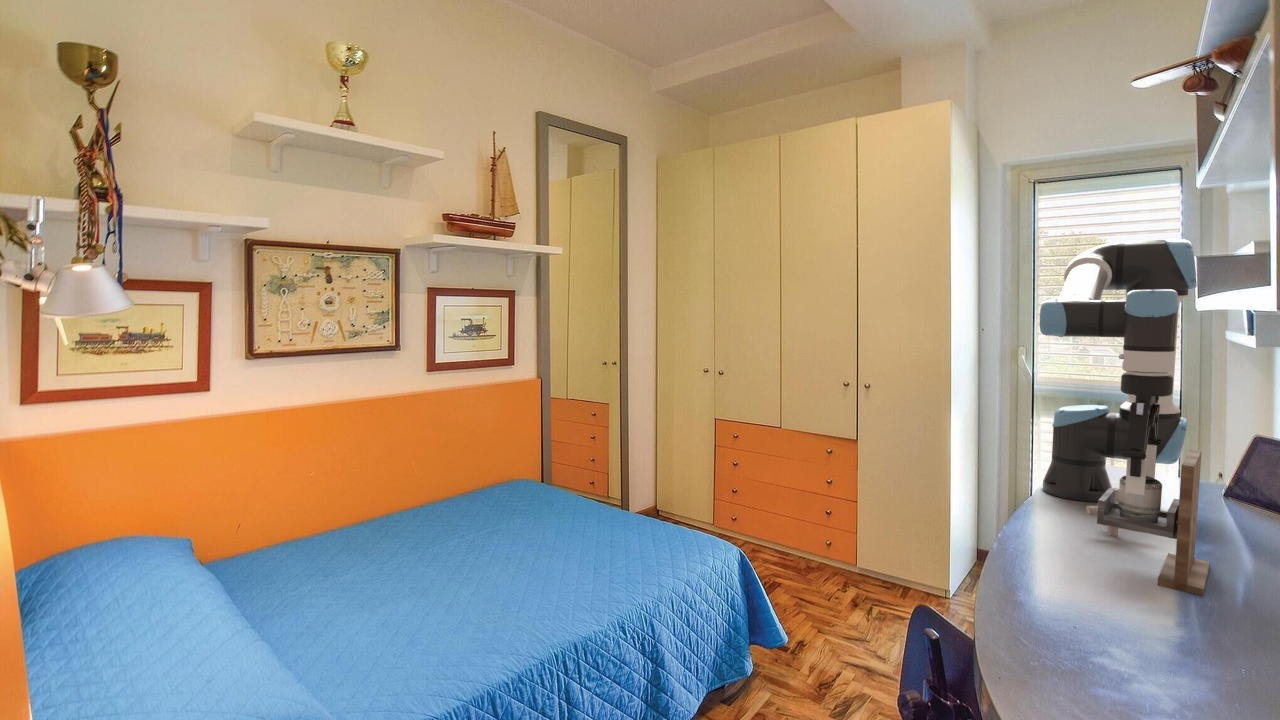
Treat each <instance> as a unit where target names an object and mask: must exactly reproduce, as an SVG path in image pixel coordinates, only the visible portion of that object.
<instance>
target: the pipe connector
mask: <svg viewBox="0 0 1280 720" xmlns="http://www.w3.org/2000/svg"><path fill="white" fill-rule="evenodd" d="M1111 489H1115V500H1114V502H1115V503H1118V502H1119V487H1118V488H1116V487H1112V488H1111ZM1085 511H1086V514H1087V515H1096V516H1097V514H1098V503H1097V505H1086V508H1085ZM1107 535H1109V536H1113V537H1117V536H1118V535H1119V528H1117V527H1112V526H1107Z"/></svg>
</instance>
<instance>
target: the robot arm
mask: <svg viewBox="0 0 1280 720" xmlns="http://www.w3.org/2000/svg"><path fill="white" fill-rule="evenodd" d="M1063 276H1064V277H1063V279H1064V285H1063V288H1062V290H1061V292H1060V295H1059V297H1058V299H1054V300H1047V301H1044V302H1042V304H1041V306H1040V311H1039V330H1040V333H1041V334H1042V335H1043V336H1048V337H1049V336H1050V337H1051V336H1052V337H1058V338H1063V337H1064V338H1065V337H1066V338H1067V337H1068V338H1069V337H1070V338H1123V347H1122V348H1123V351H1122V352H1123V353H1120V354H1119V356H1118V359H1120V360H1123V361H1122V364H1121V365H1122V366H1121V367H1122V368H1121V369H1122V370H1123V371H1125V372H1123V373H1122V374H1121V375H1120V376H1121V378H1120V380H1121V381H1120V391H1121V393H1123V394H1126V395H1127V399H1126V401H1124V402H1123V403H1122V404H1120V405H1119V411H1118V412H1112V411H1110V408H1109V406H1107V405H1101V404H1099V405H1098V404H1081V405H1078V404H1077V405H1069V406H1067V405H1066V406H1063V407H1059V408H1058V409H1056V410H1055V411H1054V413H1053V422H1052V426H1051V427H1053V429H1052V446H1051V449H1052V450H1051V461H1050V464H1049V467H1048V469H1047V471H1046V473H1045V476H1044V478H1043V480H1042V490H1043V492H1045V493H1047V494H1050V495H1052V496H1055V497H1059V498H1062V499H1063V498H1064V499H1067V500H1074V501H1083V502H1092V503H1093V502H1094V503H1095V502H1097V503H1098V500H1099V499H1100V498H1101V497H1102V495H1103V494H1104V493H1105V492H1106V491H1107V490H1108V489H1109V488H1113V486H1112V483H1111V480H1110V477H1109V474H1108V470H1107V467H1106V466H1107V462H1106V461H1107V458H1109V459H1116V460H1126V470H1125V471H1126V472H1125V473H1126V474H1125V476H1126V487H1125V492H1127V493H1133V494H1140V495H1145V481H1146V476H1149V477H1152V478H1154V479H1156V464H1162V465H1173V464H1176V463H1177V462H1178V461H1179V459H1180V456H1181V453H1182V450H1183V446H1184V443H1185V440H1186V439H1185V438H1186V433H1187V428H1188V419H1187V418H1185V417H1183V416H1181V409H1179V407H1177V406H1176V405H1175V404H1174V402H1173V399H1174V386H1175V372H1176V371H1175V370H1176V357H1177V355H1176V354H1177V339H1178V324H1179V323H1178V322H1179V309H1180V303H1182V302H1183V301H1184V300H1185V299H1186V298H1188V297H1189V290H1192V289H1193V290H1194V289H1196V288H1197V286H1198V284H1197V270H1196V261H1195V254H1194V248H1193V244H1192V242H1190V241H1189V240H1187V239H1167V238H1166V239H1155V240H1154V239H1152V240H1142V241H1139V240H1137V241H1127V242H1126V241H1124V242H1109V243H1105V244H1100V245H1098V246H1095V247H1092V248H1090V249H1088V250H1086V251H1084V252H1082V253H1080V254H1079V255H1077V256H1075V258H1073V259H1072V260H1071V261H1070V262H1069V263H1068V265H1067V267H1066V268H1065V271H1064V274H1063ZM1107 290H1109V291H1122V290H1123V291H1125V299H1117V300H1116V299H1114V300H1113V299H1112V300H1111V299H1108V300H1103V299H1102V296H1103V292H1104V291H1107Z"/></svg>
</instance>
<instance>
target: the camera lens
mask: <svg viewBox="0 0 1280 720" xmlns="http://www.w3.org/2000/svg"><path fill="white" fill-rule="evenodd" d="M1118 485H1119V487H1118V489H1119V502H1118V506H1119V511H1120V516H1121V517H1123V518H1128V519H1134V520H1139V521H1145V522H1150V523H1155V522H1157V521H1158V517H1159V515H1160V512H1161V511H1162V509H1161V507H1162V495H1163V494H1162V493H1163V484H1162V482H1161V481H1160V480H1158V479H1156V478H1155V479H1154V478H1152V477H1149V476H1146V481H1145V495H1140V494H1133V493H1127V492H1125V487H1126V475H1123V476H1122V477H1120V478H1119V484H1118Z"/></svg>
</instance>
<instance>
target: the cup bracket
mask: <svg viewBox="0 0 1280 720" xmlns="http://www.w3.org/2000/svg"><path fill="white" fill-rule="evenodd" d="M1201 463H1202V450H1199V449H1198V450H1196V449H1190V450H1189V451H1188V453H1187V455H1186V457H1185V458H1184V460H1183V461H1182V463H1181V471H1180V485H1179V487H1180V488H1179V498H1173V499H1172V501H1171V504H1170V505H1169V508H1168V509H1167V510H1161V512H1160V515H1159V517H1158V521H1157V522H1155V523H1150V522H1145V521H1139V520H1134V519H1128V518H1123V517H1121V516H1120V511H1119V506H1118V503H1115V502H1114V500H1115V489H1111V488H1109V489H1108V490H1107V491H1106V492H1105V493H1104V494H1103V495H1102V497H1101V498H1100V499H1099V500H1098V502H1097V504H1098V505H1097V506H1098V514H1097V515H1096V516H1097V517H1096V518H1097V519H1096V524H1097V525H1101V526H1102V525H1103V526H1107V527H1108V526H1112V527H1117V528H1118V529H1123V530H1128V531H1133V532H1139V533H1142V534H1144V533H1145V534H1148V535H1153V536H1154V535H1155V536H1158V537H1159V536H1160V537H1164V538H1169V539H1172V540H1173V539H1174V540H1176V549H1175V553H1169V552H1168V553H1167V555H1166V557H1165V560H1164V562H1163V565H1162V566H1161V567H1162V568H1161V570H1160V572H1159V574H1158V577H1157V586H1160V587H1164V588H1169V589H1173V590H1177V591H1181V592H1185V593H1190V594H1193V595H1198V596H1204V592H1205V588H1206V584H1207V580H1208V575H1209V571H1210V564H1211V561H1207V560H1203V559H1199V558H1195V557H1196V556H1195V551H1196V540H1197V538H1196V537H1197V525H1198V524H1197V523H1198V511H1199V510H1198V508H1199V493H1200V480H1201Z"/></svg>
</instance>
